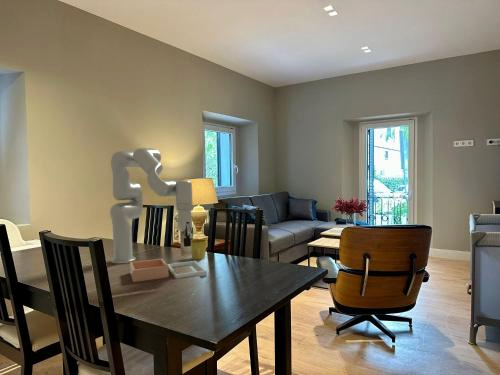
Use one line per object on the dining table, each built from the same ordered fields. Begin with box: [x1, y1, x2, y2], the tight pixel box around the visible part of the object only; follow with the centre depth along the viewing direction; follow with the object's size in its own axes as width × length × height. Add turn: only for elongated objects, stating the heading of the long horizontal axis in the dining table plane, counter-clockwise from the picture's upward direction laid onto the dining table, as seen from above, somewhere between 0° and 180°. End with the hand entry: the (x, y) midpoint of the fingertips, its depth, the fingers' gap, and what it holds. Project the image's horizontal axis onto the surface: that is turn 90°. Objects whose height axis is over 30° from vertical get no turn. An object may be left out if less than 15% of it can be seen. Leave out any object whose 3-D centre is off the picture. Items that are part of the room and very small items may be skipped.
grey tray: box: [166, 260, 208, 279], centre depth 163 cm, size 20×14×2 cm
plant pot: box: [191, 238, 208, 261], centre depth 190 cm, size 10×10×10 cm
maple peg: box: [179, 230, 192, 258], centre depth 163 cm, size 5×5×12 cm
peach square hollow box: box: [129, 258, 170, 283], centre depth 157 cm, size 15×15×6 cm
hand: (186, 244), depth 163 cm, fingers closed on maple peg, 5 cm apart
